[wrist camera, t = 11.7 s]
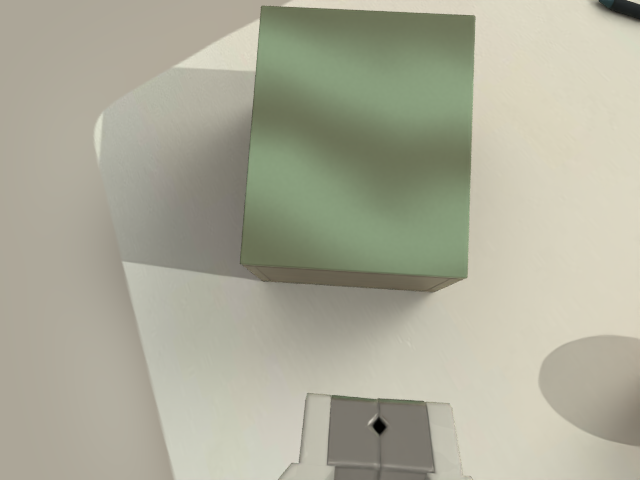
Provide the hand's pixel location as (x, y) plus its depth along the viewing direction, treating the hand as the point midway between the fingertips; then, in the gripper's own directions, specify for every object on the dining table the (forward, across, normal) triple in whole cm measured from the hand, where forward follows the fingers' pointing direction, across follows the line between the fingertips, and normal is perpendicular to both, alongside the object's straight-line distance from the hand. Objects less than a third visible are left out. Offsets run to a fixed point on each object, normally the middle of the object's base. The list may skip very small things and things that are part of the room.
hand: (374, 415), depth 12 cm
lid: (+25, 0, +5) cm, 25 cm away
